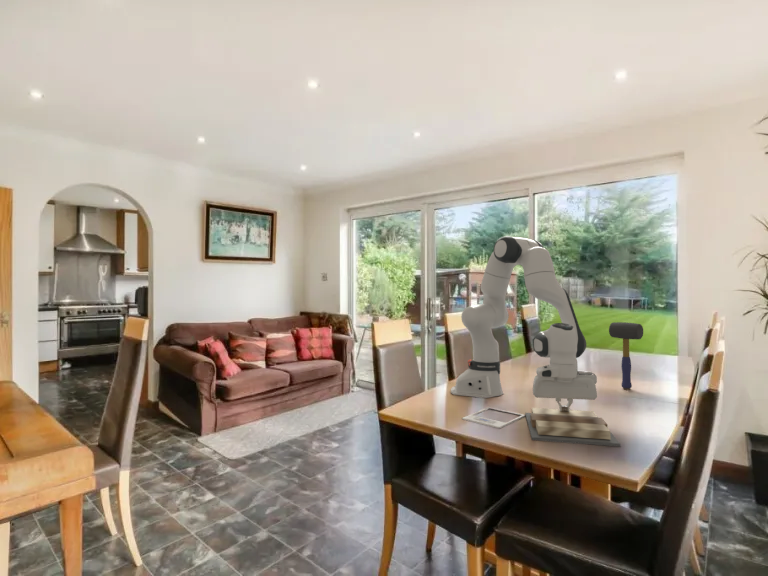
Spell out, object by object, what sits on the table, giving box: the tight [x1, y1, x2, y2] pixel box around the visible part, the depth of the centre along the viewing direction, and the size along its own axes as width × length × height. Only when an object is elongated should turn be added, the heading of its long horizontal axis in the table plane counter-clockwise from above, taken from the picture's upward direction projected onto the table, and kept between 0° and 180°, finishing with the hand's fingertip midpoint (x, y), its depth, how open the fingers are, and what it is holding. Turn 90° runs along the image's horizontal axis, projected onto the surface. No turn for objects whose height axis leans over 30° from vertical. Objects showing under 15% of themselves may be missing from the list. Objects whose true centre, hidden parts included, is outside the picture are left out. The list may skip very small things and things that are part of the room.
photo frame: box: [461, 406, 526, 429], centre depth 149 cm, size 15×1×18 cm
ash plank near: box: [536, 420, 611, 440], centre depth 129 cm, size 20×7×2 cm, turn 76°
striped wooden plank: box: [529, 412, 609, 429], centre depth 136 cm, size 22×7×2 cm, turn 76°
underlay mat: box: [524, 412, 621, 447], centre depth 136 cm, size 24×26×1 cm
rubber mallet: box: [608, 321, 644, 390], centre depth 188 cm, size 12×8×30 cm, turn 37°
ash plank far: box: [531, 407, 598, 417], centre depth 143 cm, size 20×7×2 cm, turn 76°
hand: (564, 411), depth 144 cm, fingers closed, pressing on ash plank far
